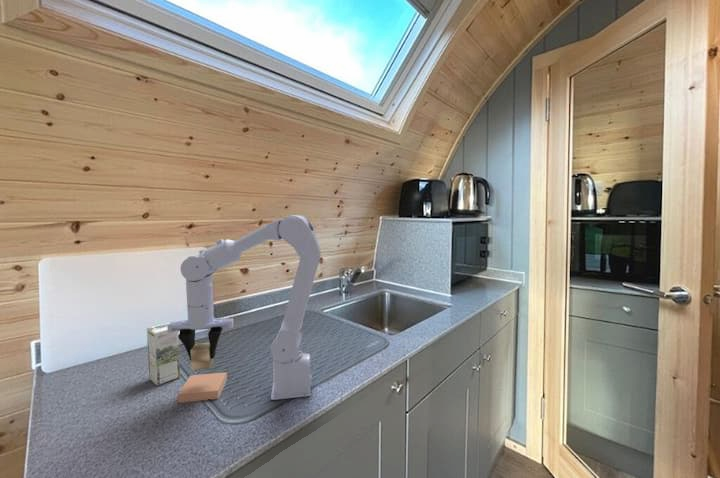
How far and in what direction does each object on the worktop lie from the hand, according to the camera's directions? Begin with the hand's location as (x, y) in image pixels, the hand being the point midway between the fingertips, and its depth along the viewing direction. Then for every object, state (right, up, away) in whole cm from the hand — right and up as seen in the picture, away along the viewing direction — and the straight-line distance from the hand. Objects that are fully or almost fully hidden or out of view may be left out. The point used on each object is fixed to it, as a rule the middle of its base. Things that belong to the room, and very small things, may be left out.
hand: (202, 357), depth 80 cm
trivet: (-1, -9, +2) cm, 10 cm away
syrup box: (-14, -9, +7) cm, 18 cm away
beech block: (0, -2, 0) cm, 2 cm away
